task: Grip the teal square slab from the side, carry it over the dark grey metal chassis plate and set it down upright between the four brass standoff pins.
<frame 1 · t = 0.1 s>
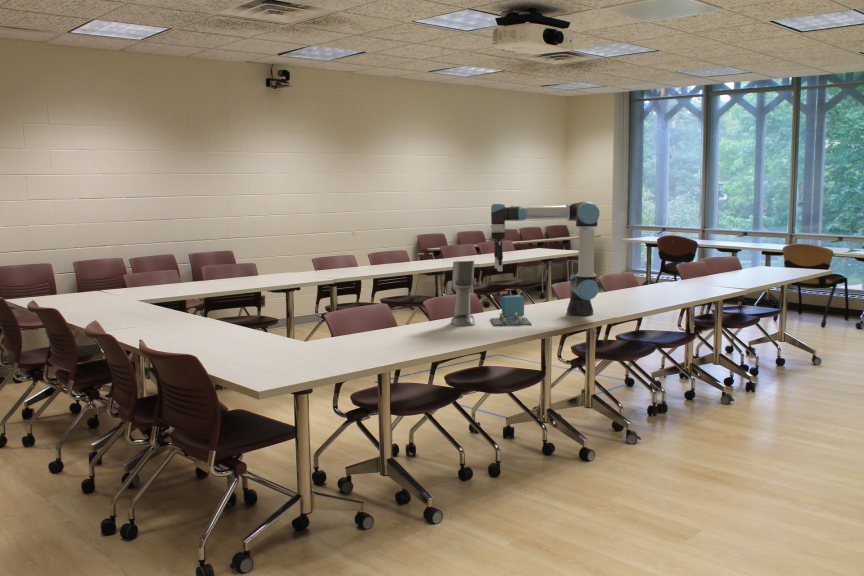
hand: (498, 269, 407), 28 cm above the table, tool pointing down, fingers open, 13 cm apart
grey pedestal post: (463, 324, 397), on the table
teal square slab: (512, 317, 418), on the table
chassis: (510, 322, 399), on the table
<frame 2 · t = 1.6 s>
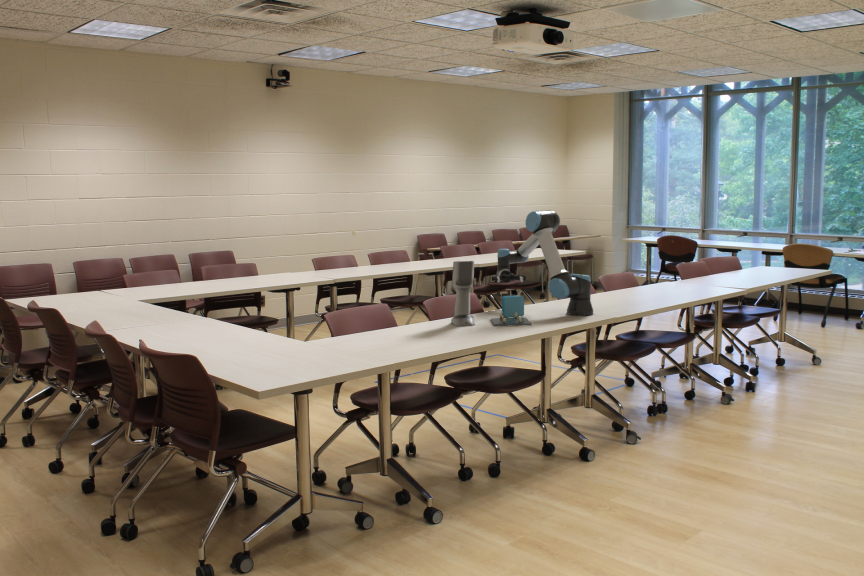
hand: (510, 280, 424), 20 cm above the table, tool horizontal, fingers open, 13 cm apart
nothing on the table moved.
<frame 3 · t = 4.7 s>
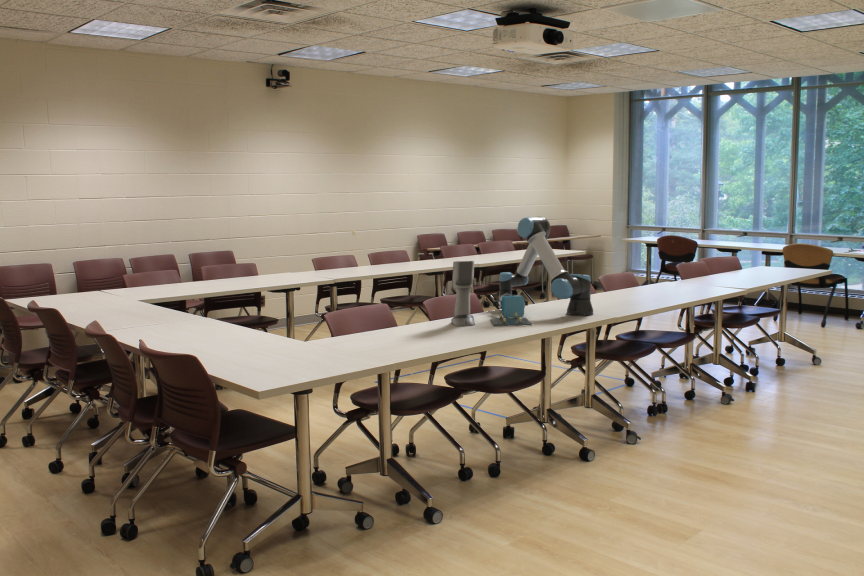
hand: (512, 305, 417), 6 cm above the table, tool horizontal, fingers open, 13 cm apart
teal square slab: (512, 317, 417), on the table, touching gripper
everything else where it was.
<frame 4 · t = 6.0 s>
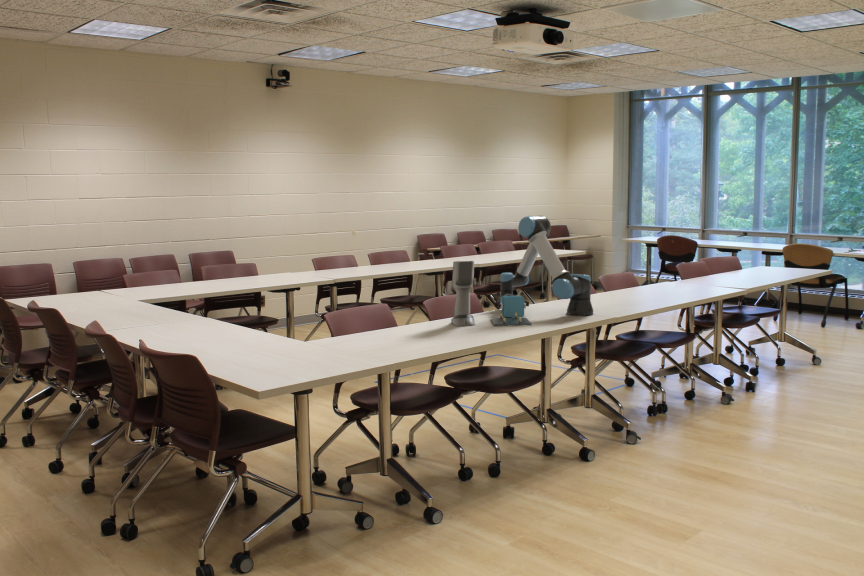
hand: (513, 306, 413), 7 cm above the table, tool horizontal, fingers closed on teal square slab, 12 cm apart
teal square slab: (513, 317, 417), on the table, touching gripper
everything else where it was.
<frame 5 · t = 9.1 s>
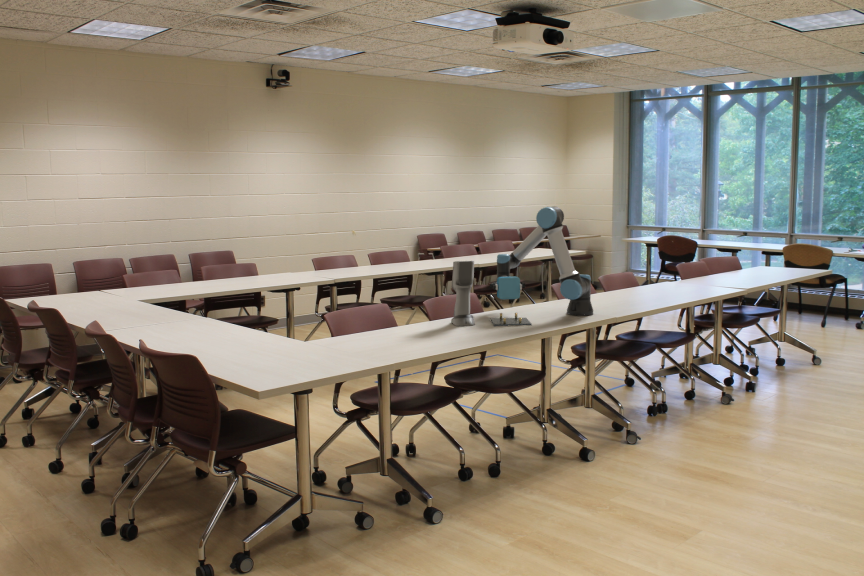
hand: (509, 287, 399), 19 cm above the table, tool horizontal, fingers closed on teal square slab, 12 cm apart
teal square slab: (508, 299, 403), point 12 cm above the table, touching gripper
everything else where it was.
when the fingers open (9 cm above the table, at t = 12.2 s): teal square slab drops 2 cm, resting on chassis.
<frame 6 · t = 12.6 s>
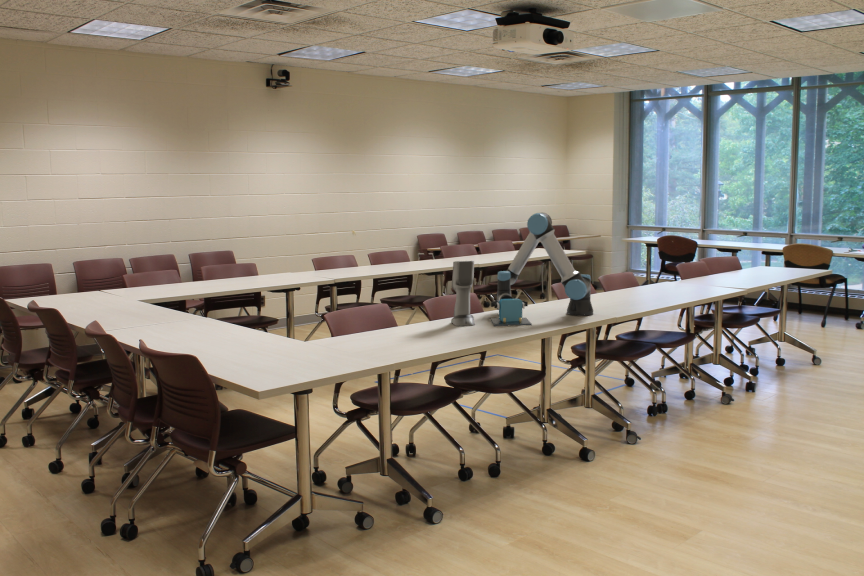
hand: (511, 306, 394), 9 cm above the table, tool horizontal, fingers open, 13 cm apart
teal square slab: (510, 321, 398), point 1 cm above the table, touching chassis
everything else where it was.
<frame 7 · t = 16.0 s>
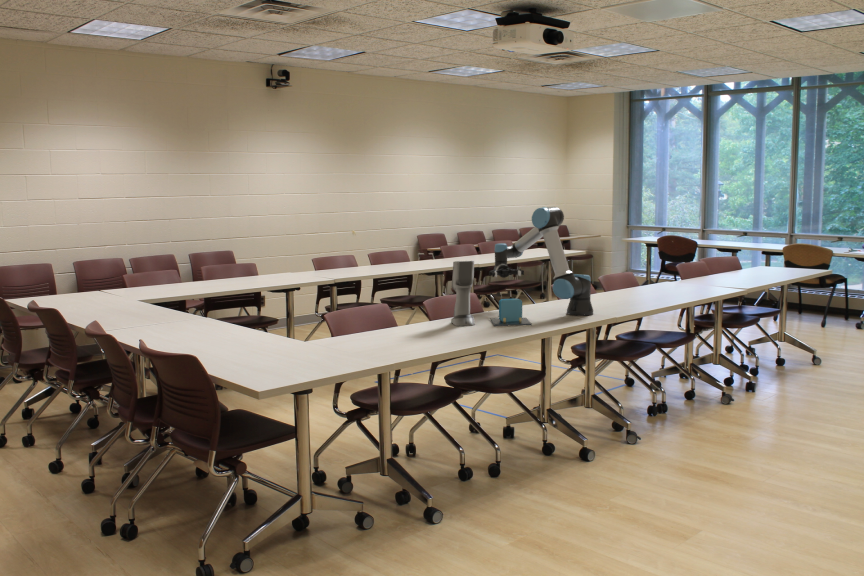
hand: (508, 274, 413), 25 cm above the table, tool horizontal, fingers open, 13 cm apart
nothing on the table moved.
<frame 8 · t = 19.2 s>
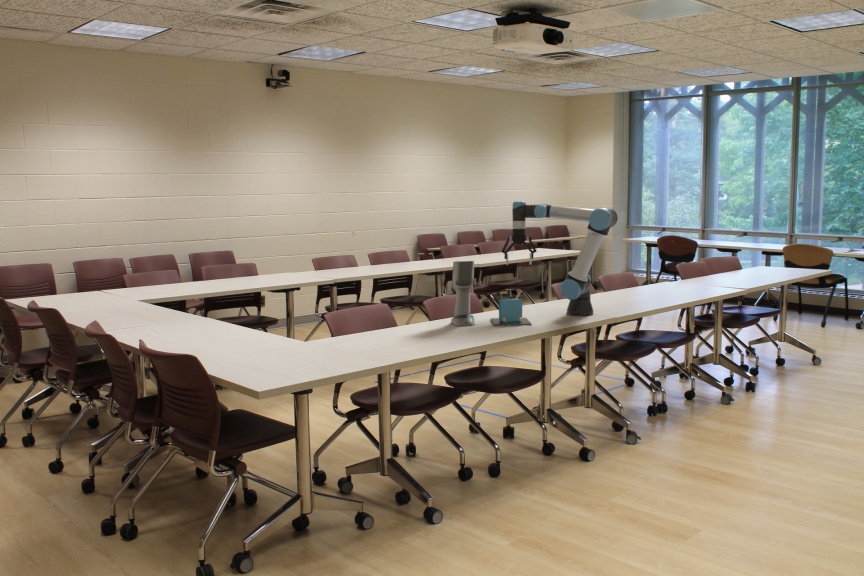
hand: (518, 264, 425), 29 cm above the table, tool pointing down, fingers open, 13 cm apart
nothing on the table moved.
at the end: teal square slab 0.5 cm off-centre on the chassis, point 0.8 cm above the chassis's base; teal square slab tilted 0°; the gripper is holding nothing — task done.
